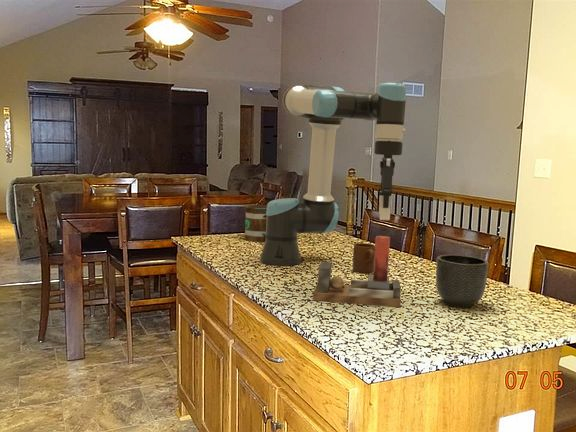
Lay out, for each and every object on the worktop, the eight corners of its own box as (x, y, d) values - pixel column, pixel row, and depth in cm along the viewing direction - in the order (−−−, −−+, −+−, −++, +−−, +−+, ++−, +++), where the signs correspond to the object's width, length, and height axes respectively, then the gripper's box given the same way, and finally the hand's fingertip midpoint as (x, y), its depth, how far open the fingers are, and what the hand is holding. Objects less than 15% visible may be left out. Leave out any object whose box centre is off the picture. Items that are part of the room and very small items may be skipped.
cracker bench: (313, 300, 151) (314, 268, 150) (317, 289, 163) (318, 260, 162) (399, 307, 148) (402, 275, 146) (397, 295, 159) (399, 265, 158)
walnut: (327, 289, 156) (327, 276, 155) (336, 287, 159) (336, 273, 158) (337, 292, 153) (337, 278, 152) (346, 289, 156) (346, 276, 155)
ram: (367, 294, 151) (370, 238, 149) (367, 287, 158) (370, 234, 156) (388, 296, 150) (392, 239, 148) (387, 289, 157) (391, 235, 155)
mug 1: (238, 237, 248) (239, 205, 246) (264, 236, 255) (265, 204, 253) (257, 245, 231) (258, 210, 229) (284, 243, 238) (286, 210, 236)
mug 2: (382, 276, 182) (384, 249, 181) (361, 277, 181) (362, 249, 179) (369, 268, 194) (370, 243, 193) (349, 269, 192) (350, 243, 191)
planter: (478, 314, 144) (482, 267, 142) (427, 304, 151) (430, 259, 149) (489, 302, 156) (493, 258, 154) (441, 294, 163) (444, 252, 161)
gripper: (405, 140, 136) (399, 223, 139) (400, 141, 160) (395, 212, 163) (375, 139, 137) (370, 221, 140) (374, 140, 161) (370, 210, 164)
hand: (384, 216), depth 152 cm, fingers open, 13 cm apart
